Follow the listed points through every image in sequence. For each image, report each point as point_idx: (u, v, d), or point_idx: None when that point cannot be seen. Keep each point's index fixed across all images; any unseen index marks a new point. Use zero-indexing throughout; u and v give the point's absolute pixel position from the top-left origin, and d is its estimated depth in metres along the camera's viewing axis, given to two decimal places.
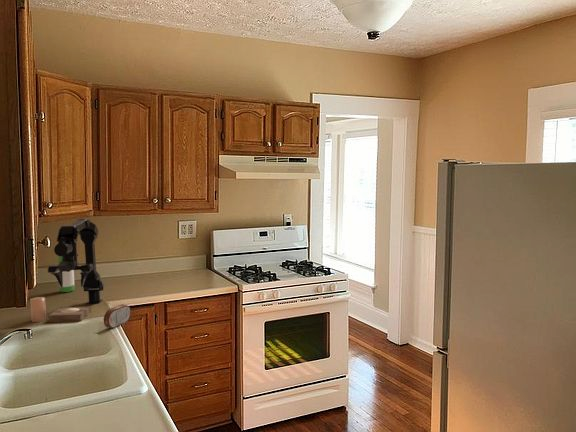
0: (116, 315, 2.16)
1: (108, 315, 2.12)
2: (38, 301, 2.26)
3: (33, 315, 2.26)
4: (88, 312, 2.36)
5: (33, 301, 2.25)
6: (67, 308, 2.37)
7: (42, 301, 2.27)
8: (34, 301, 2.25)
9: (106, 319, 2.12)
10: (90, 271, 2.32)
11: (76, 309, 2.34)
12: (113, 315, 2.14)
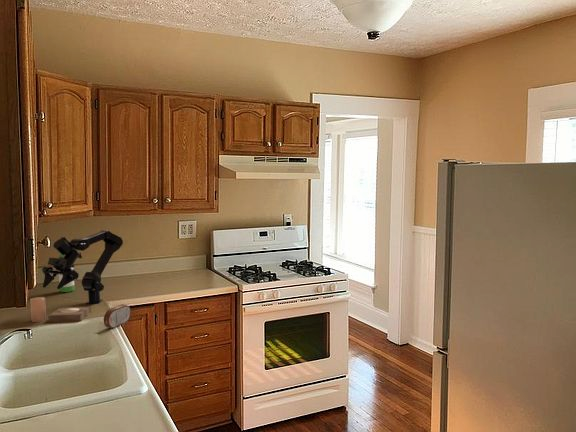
0: (117, 315, 2.16)
1: (108, 315, 2.12)
2: (38, 301, 2.26)
3: (33, 315, 2.26)
4: (88, 312, 2.36)
5: (33, 301, 2.25)
6: (67, 308, 2.37)
7: (42, 301, 2.27)
8: (34, 301, 2.25)
9: (106, 319, 2.12)
10: (73, 279, 2.36)
11: (76, 309, 2.34)
12: (113, 315, 2.14)
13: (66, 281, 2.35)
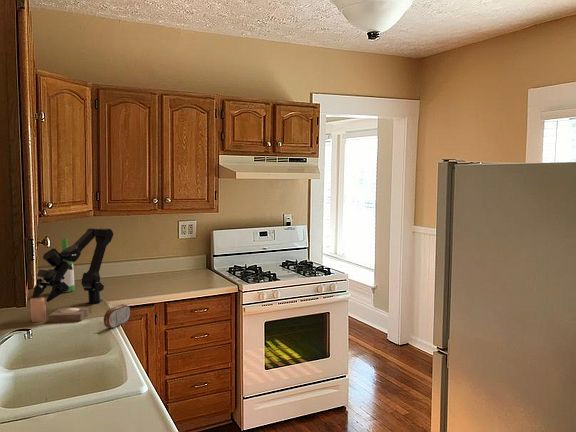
0: (117, 315, 2.16)
1: (108, 315, 2.12)
2: (38, 301, 2.26)
3: (33, 315, 2.26)
4: (88, 312, 2.36)
5: (33, 301, 2.25)
6: (67, 308, 2.37)
7: (42, 301, 2.27)
8: (34, 301, 2.25)
9: (106, 319, 2.12)
10: (62, 292, 2.31)
11: (76, 309, 2.34)
12: (113, 315, 2.14)
13: (56, 293, 2.30)
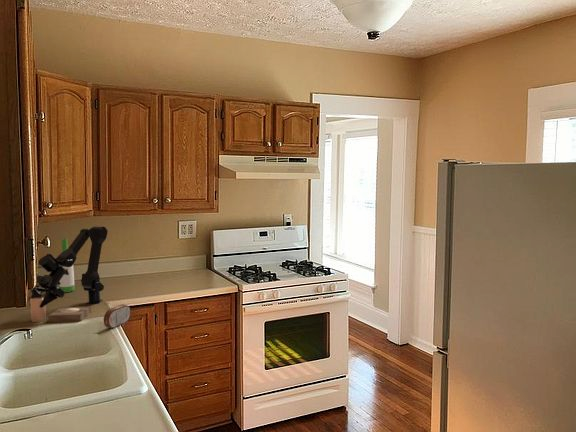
0: (117, 315, 2.16)
1: (108, 315, 2.12)
2: (38, 301, 2.26)
3: (33, 315, 2.26)
4: (88, 312, 2.36)
5: (33, 301, 2.25)
6: (67, 308, 2.37)
7: None
8: (34, 301, 2.25)
9: (106, 319, 2.12)
10: (56, 297, 2.30)
11: (76, 309, 2.34)
12: (113, 315, 2.14)
13: (49, 299, 2.29)
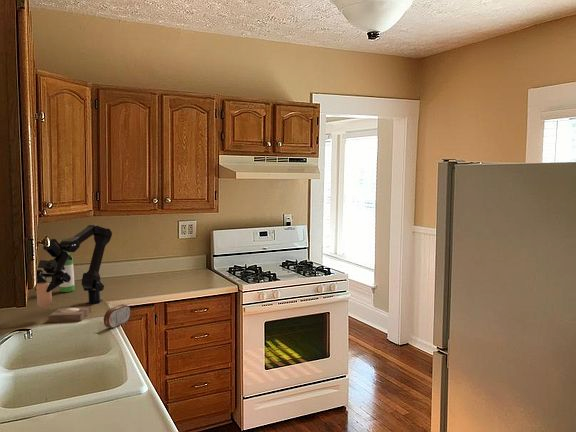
0: (116, 315, 2.16)
1: (108, 315, 2.12)
2: (44, 286, 2.26)
3: (39, 300, 2.26)
4: (88, 312, 2.36)
5: (39, 286, 2.25)
6: (67, 308, 2.37)
7: None
8: (40, 286, 2.25)
9: (106, 319, 2.12)
10: (62, 282, 2.30)
11: (76, 309, 2.34)
12: (113, 315, 2.14)
13: (55, 284, 2.29)
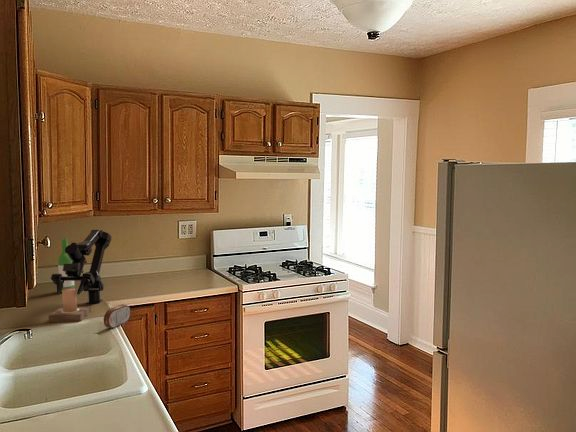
0: (116, 315, 2.16)
1: (108, 315, 2.12)
2: (72, 291, 2.30)
3: (67, 305, 2.29)
4: (88, 312, 2.36)
5: (68, 291, 2.29)
6: None
7: (75, 291, 2.32)
8: (69, 291, 2.29)
9: (106, 319, 2.12)
10: (90, 284, 2.36)
11: None
12: (113, 315, 2.14)
13: (84, 286, 2.34)
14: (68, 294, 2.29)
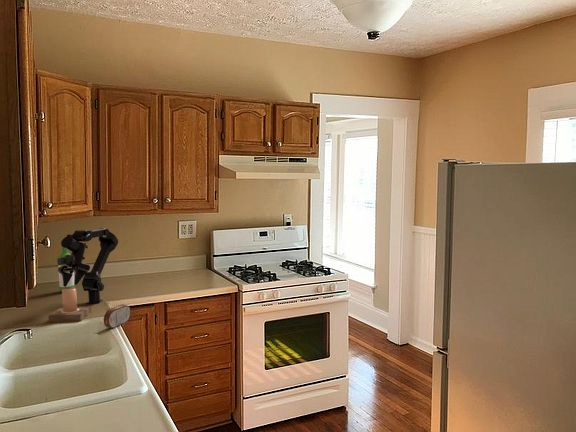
0: (116, 315, 2.16)
1: (108, 315, 2.12)
2: (72, 291, 2.30)
3: (67, 305, 2.29)
4: (88, 312, 2.36)
5: (68, 291, 2.29)
6: None
7: (75, 291, 2.32)
8: (69, 291, 2.29)
9: (106, 319, 2.12)
10: (86, 271, 2.39)
11: None
12: (113, 315, 2.14)
13: (80, 275, 2.39)
14: (68, 294, 2.29)
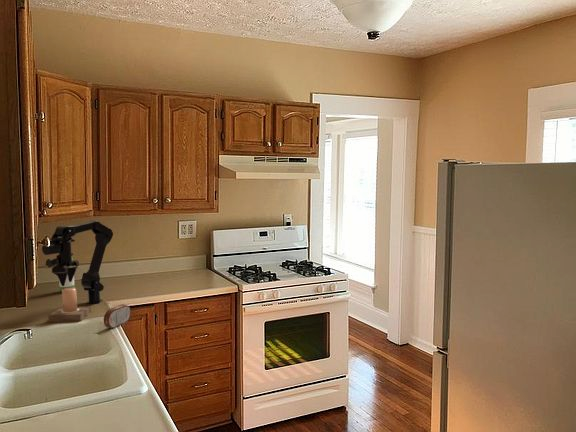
0: (116, 315, 2.16)
1: (108, 315, 2.12)
2: (72, 291, 2.30)
3: (67, 305, 2.29)
4: (88, 312, 2.36)
5: (67, 291, 2.29)
6: None
7: (75, 291, 2.32)
8: (69, 291, 2.29)
9: (106, 319, 2.12)
10: (63, 273, 2.36)
11: None
12: (113, 315, 2.14)
13: (63, 276, 2.38)
14: (68, 294, 2.29)
